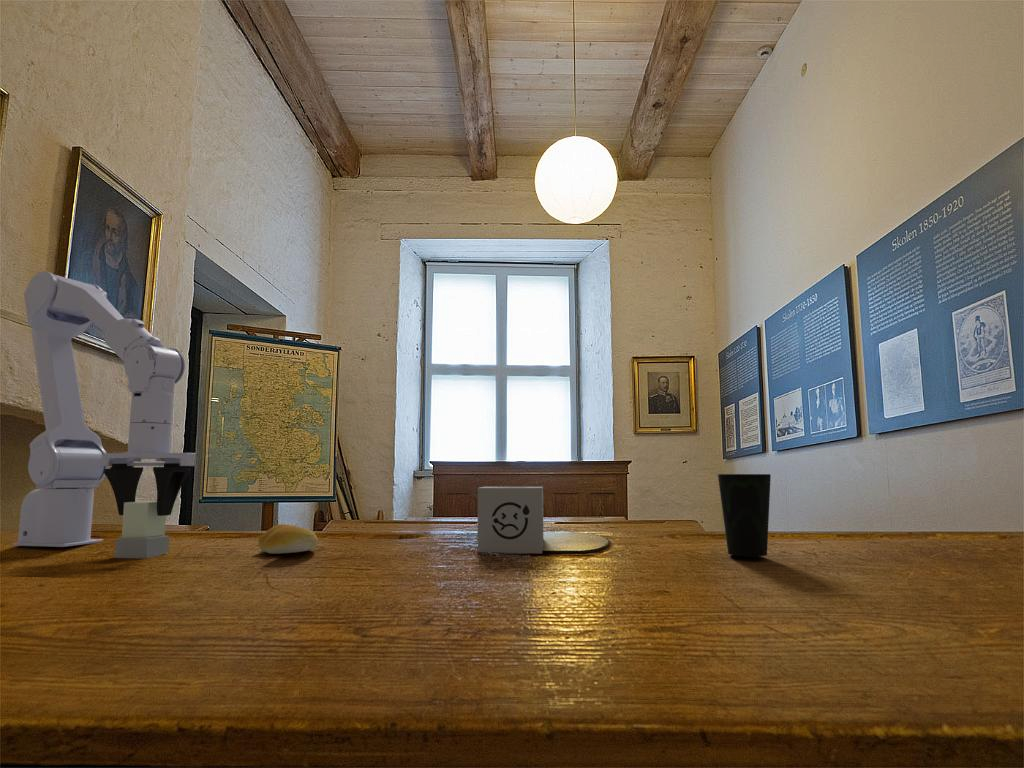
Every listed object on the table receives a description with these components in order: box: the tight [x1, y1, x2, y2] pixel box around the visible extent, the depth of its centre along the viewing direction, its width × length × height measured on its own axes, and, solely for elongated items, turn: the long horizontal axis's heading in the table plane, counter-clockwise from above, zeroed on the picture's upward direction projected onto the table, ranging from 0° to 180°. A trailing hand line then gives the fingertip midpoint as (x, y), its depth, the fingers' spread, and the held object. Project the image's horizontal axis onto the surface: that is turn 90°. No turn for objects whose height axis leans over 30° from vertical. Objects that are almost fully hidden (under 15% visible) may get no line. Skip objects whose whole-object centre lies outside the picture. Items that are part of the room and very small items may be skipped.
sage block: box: [121, 501, 167, 538], centre depth 102 cm, size 4×4×5 cm
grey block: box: [114, 535, 170, 559], centre depth 101 cm, size 5×5×3 cm
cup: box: [717, 473, 772, 557], centre depth 104 cm, size 8×8×12 cm
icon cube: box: [477, 486, 544, 554], centre depth 110 cm, size 10×10×10 cm
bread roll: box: [257, 523, 319, 555], centre depth 103 cm, size 8×9×4 cm
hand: (144, 515), depth 101 cm, fingers open, 6 cm apart
